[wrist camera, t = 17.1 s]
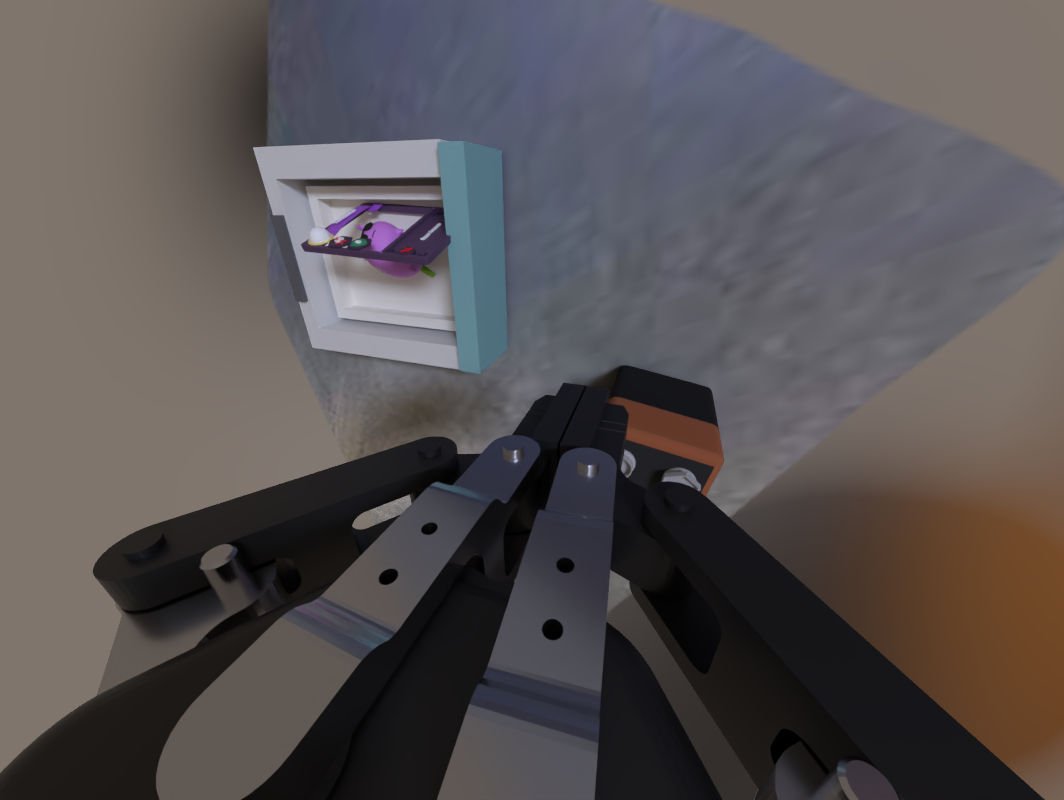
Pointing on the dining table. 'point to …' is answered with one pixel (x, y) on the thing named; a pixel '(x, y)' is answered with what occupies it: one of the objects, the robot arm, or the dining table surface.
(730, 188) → the dining table surface
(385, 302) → the drawer
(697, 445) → the battery
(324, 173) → the open box
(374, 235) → the purple toy kit
